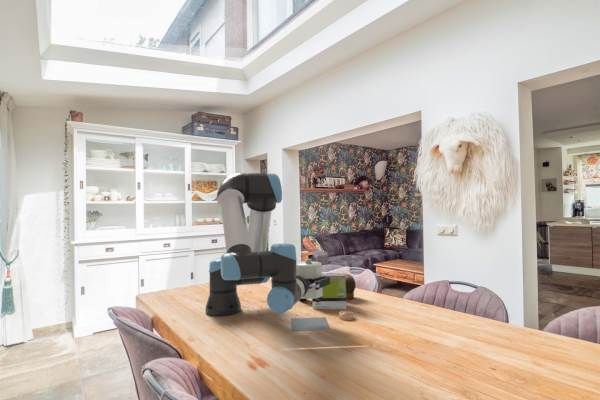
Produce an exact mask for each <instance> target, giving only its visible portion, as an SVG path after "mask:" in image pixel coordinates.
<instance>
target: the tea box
mask: <svg viewBox="0 0 600 400" xmlns="http://www.w3.org/2000/svg"><path fill="white" fill-rule="evenodd" d="M324 273H326V274H327V277H330V284H329V285H327V286H324V287H322V293H323V296H322V297H319V298H315V299H311V301H312V302H311V303H312V309H313V310H347V306H348V305H347V300H346V278H345V274H346V273H345V271H322V274H324Z"/></svg>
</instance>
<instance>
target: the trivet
mask: <svg viewBox="0 0 600 400" xmlns="http://www.w3.org/2000/svg"><path fill="white" fill-rule="evenodd" d="M290 325H291V326H290V327H291V332H309V331H312V332H313V331H331V330H332V329H331V327H330V325H329V322H328V320H327V317H325V316H324V317H323V316H322V317H321V316H320V317H295V318H291V317H290Z"/></svg>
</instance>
